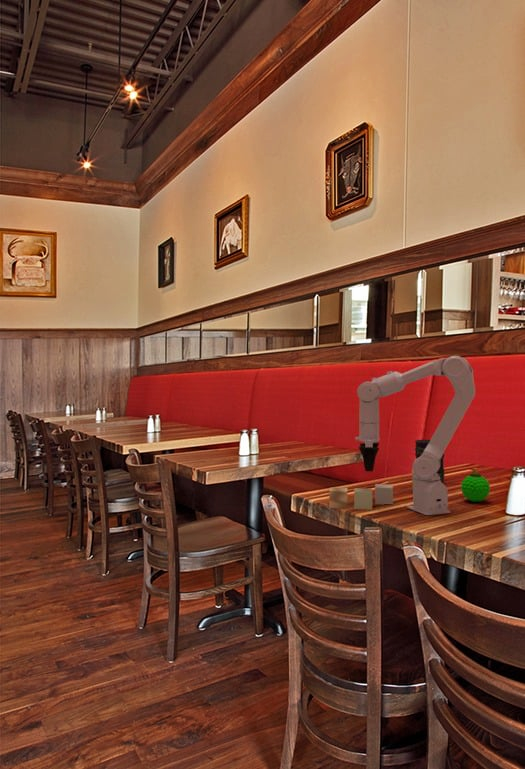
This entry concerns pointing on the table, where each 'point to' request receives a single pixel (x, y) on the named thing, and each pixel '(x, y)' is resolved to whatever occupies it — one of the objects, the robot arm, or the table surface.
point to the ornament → (475, 487)
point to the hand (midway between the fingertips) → (369, 469)
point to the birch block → (338, 498)
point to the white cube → (383, 494)
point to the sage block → (363, 498)
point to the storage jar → (420, 449)
